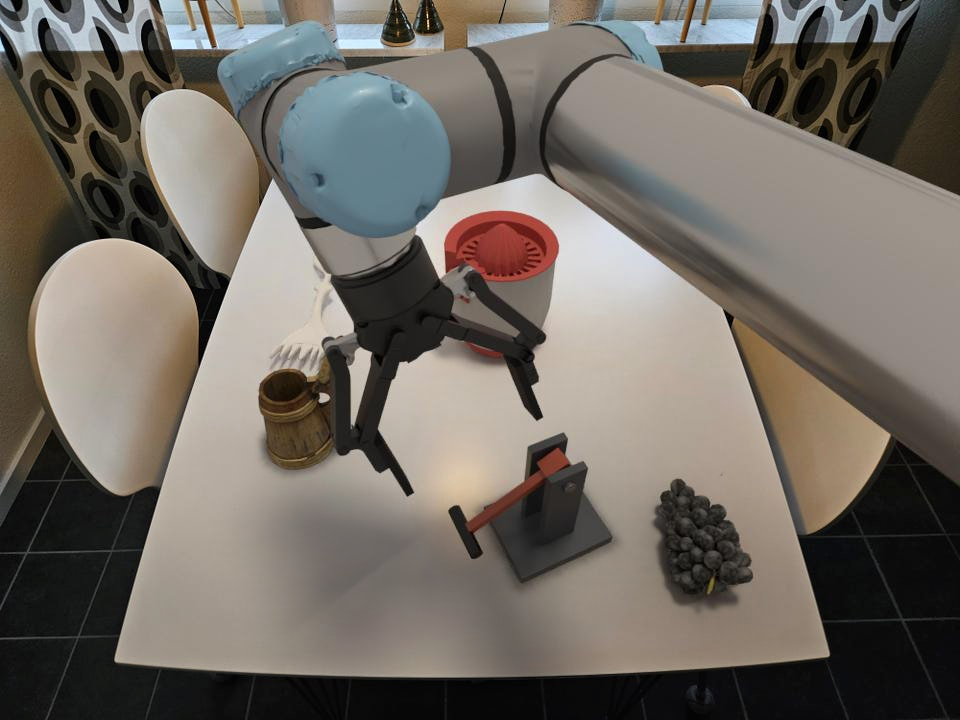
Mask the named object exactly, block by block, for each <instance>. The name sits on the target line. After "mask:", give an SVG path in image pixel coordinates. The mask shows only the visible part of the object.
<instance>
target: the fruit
mask: <svg viewBox="0 0 960 720" xmlns="http://www.w3.org/2000/svg"><path fill="white" fill-rule="evenodd" d="M669 488H670V489H668V490H667V489H666V490H664V491H662V492H661V494H660V496H659V499H660V504H659V512H660V513H661V514H662V515H663V516H664V518H665V521H666V522H667V523H666V526H665V531H666V533H667V534H668V535H669V536H667V537H666V538H665V540H664V545H665V547H666V548H667V549H668V550H669V551H668V554H667V560H668V562H669V563H670V564H671V565H672V566H671V567H670V568H669V571H668V574H669V577H670V579H671V581H674V582H675V583H678V584H679V583H680V589H681V591H682V594H684V595H685V596H687V597H694V596H700V595H703V593H704V592H705V589H706V587H707V586H708V588H707V592H706V594H707V595H710V593H711V592H713V593H715V594H721V593H725V592H726V591H727V588H728V586H736V585H743V584H748V583H751V582H752V580H753V579H754V573H753V571H752V569H751V568H750V567H751V565H752V562H753V559H752V558H751V555H749V554H748V553H747V552H745V551H744V550H743V549H742V546H741V543H740V542H741V541H740V534H739V532H738V531H737V529H736V526H735V524H734V522H732V521H731V520H730V519H726V518H727V513H728V512H727V509H726V508H725V506H723V505H722V504H720V503H715V504H712V505H711V501H710V499H709V497H708V496H705V495H699V494H697V495H696V491H695V489H694V488H693V487H692V486H690V485H688V484H687V483H686V482H685V481H684V480H683V479H682V478H675V479H672V480H671V482H670V486H669ZM717 573H718V574H717Z"/></svg>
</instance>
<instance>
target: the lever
mask: <svg viewBox="0 0 960 720" xmlns="http://www.w3.org/2000/svg"><path fill="white" fill-rule="evenodd" d="M537 464H538V466H539V468H540V469H541V470H539V471H538V472H536V473H535V474H534V475H532V476H531V477H529V478H528V479H527V480H525V481H524V480H523V482H521V483H520V484H518V485H517V486H516V487H514V488H513V489H511V490H510V491H508V492H507V493H506V494H504V495H503V496H501V497H500V498H499V499H497V500H496V501H494V502H495V503H494V502H492V503H493V504H492V505H490V506H489V507H488V508H486V509H485V510H484V509H483V510H482V511H480V512H479V513H478V514H476V515H475V516H473V517H472V518H471V519H469V520H468V519H467V517H466V515H465V513H464V511H463V509H462V507H461V506H460V504H455V505H452V506H450V507H449V508H448V510H447V513H448V515H449V517H450V519H451V521H452V524H453V525H454V527H455V529H456V531H457V533H458V535H459V537H460V540H461V542H462V544H463V546H464V548H465V550H466V551H467V553H468V556H469V558H470V559H471V560H476V559H479V558H480V557H481V556H483V554H484V550H483V548H482V547H481V545H480V542H479V541H478V538H477V537H476V535H475V534H476V533H477V532H479V530H481V529H482V528H483V527H485V526H486V525H488V524H490V523H489V522H490V521H492V520H493V519H495V518H496V517H497V516H499V515H500V514H502V513H503V512H504V511H506V510H507V509H509V508H510V507H511V506H513V505H514V504H516V503H517V502H518V501H520V500H521V499H523V498H524V497H525V496H527V495H528V494H530V493H531V492H532V491H534V490H535V489H537V488H538V487H539V486H541V485H542V484H544V483H545V482H546V476H548V475H550V474H553V473H555V472H558V471H560V470H562V469H565V468H567V467H570V466H572V465H573V464H572V463H571V461H570V460H569V458H568V456H567V455H566V454H564V453H563V452H562V451H561V450H560V449H559V448H556V449H555V450H554V451H552V452H551V453H549V454H548V455H547V456H545V457H544V458H542V459H541V460H540V461H538V462H537Z"/></svg>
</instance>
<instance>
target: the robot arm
mask: <svg viewBox="0 0 960 720" xmlns="http://www.w3.org/2000/svg"><path fill="white" fill-rule="evenodd" d="M658 51H659V50H658V49H657V47H656V46H655V45H654V44H652V43H650V41H648V39H647V35H646V32H645V30H644V29H642V28H641V27H640V26H639V25H637V24H636V23H633V22H631V21H627V20H625V19H624V20H623V19H611V20H610V19H609V20H601V21H585V20H583V21H581V20H579V21H578V20H577V21H574V22H571V23H569V24H565V25H564V24H563V25H561V26H560V27H556V28H551V29H547V30H543V31H537V32H532V33H528V34H524V35H519V36H514V37H509V38H504V39H500V40H496V41H495V40H494V41H491V42H486V43H482V44H476V45H472V46H467V47H462V48H461V47H460V48H457V49H451V50H446V51H445V50H444V51H441V52H435V53H429V54H425V55H420V56H415V57H410V58H409V57H408V58H404V59H400V60H394V61H389V62H384V63H381V64H380V63H379V64H374V65H369V66H365V67H360V68H354V69H347V68H346V66H347V62H346V59H345V57H344V56H343V55H341V53H340V52H339V50H338V48H337V46H336V45H335V43H334V41H333V39H332V37H331V35H330V34H329V31H328V30H327V28H326V27H325V26H324V25H323V24H322V23H320V22H319V21H317V20H311V19H309V20H304V21H300V22H297V23H295V24H292V25H289V26H287V27H284V28H281V29H279V30H277V31H275V32H272V33H270V34H268V35H265V36H263V37H261V38H259V39H257V40H255V41H253V42H250V43H248V44H246V45H244V46H242V47H240V48H238V49H236V50H235V51H233V52H231V53H229V54H228V55H226V56H225V57H223V58H222V59H221V61H220V62H219V64H218V66H217V71H216V72H217V78H218V81H219V83H220V85H221V87H222V89H223V91H224V93H225V95H226V97H227V99H228V101H229V103H230V106H231V107H232V111H233V113H234V114H233V116H234V117H235V119H236V120H237V122H238V123H239V124H240V125H242V127H243V129H244V131H245V133H246V134H247V136H248V138H249V139H250V141H251V143H252V144H253V147H254V148H255V150H256V152H257V154H258V156H259V157H260V159H261V161H262V163H263V164H264V166H265V167H266V170H267V171H268V173H269V174H270V176H271V178H272V179H273V182H274V183H275V185H276V186H277V188H278V190H279V192H280V193H281V195H282V196H283V199H284V200H285V202H286V204H287V205H288V206H289V208H290V210H291V211H292V213H293V215H294V218H295V220H296V223H297V224H298V226H299V229H300V231H301V232H302V234H303V236H304V237H305V240H306V241H307V243H308V245H309V246H310V248H311V250H312V251H313V252H312V253H313V255H314V254H315V255H316V257H317V259H318V261H319V262H320V264H321V266H322V268H323V270H324V271H325V272H326V273H328V274H331V279H330V284H331V285H333V287H334V288H333V290H334V291H335V292H336V294H337V296H338V298H339V299H340V301H341V303H342V305H343V307H344V309H345V310H346V312H347V314H348V316H349V317H350V319H351V321H352V324H353V331H352V332H350V333H348V334H346V335H342V336H343V337H341V338H338V339H336V337H334V336H331V335H330V336H331V337H330V336H329V337H325V338H324V339H323V340H322V343H321V345H322V348H323V350H324V356H325V355H326V357H327V360H328V362H329V364H330V397H329V399H330V416H331V438H332V441H333V444H334V449H335V452H336V454H337V455H338V456H339V457H345V456H347V455H349V454H350V452H352V451H355V450H358V451H362V453H363V454H364V456H365V457H366V458H367V460H368V461H369V463H370V464H371V466H372V468H373V469H374V471H375V472H376V473H378V474H381V473H384V472H386V471H387V470H388V469H389V471H390V473H392V475H393V477H394V478H395V480H396V482H397V484H398V485H399V486H400V488H401V489H402V491H403V493H404V495H405V496H406V497H407V498H408V497H410V496H412V495H414V494H415V490H414V488H413V486H412V485H411V482H410V481H409V479H408V476H407V474H406V473H405V471H404V469H403V468H402V466H401V464H400V463H399V461H398V459H397V458H396V456H395V455H394V453H393V451H392V449H391V448H390V447H389V445H388V443H387V441H386V439H385V438H384V437H383V435H382V433H381V431H380V430H379V427H380V424H381V421H382V416H383V412H384V409H385V405H386V402H387V398H388V395H389V392H390V388H391V385H392V381H393V380H395V379H396V376H397V373H398V369H399V366H400V363H407V364H408V365H409V364H411V363H412V362H415V361H416V360H417V359H418V358H419V357H421V356H422V355H423V354H425V353H427V352H430V351H434V350H437V349H438V348H439V347H441V346H442V342H443V341H444V339H445V338H446V337H447V338H449V339H453V340H456V341H459V342H465V341H467V342H470V343H473V344H475V345H478V346H481V347H484V348H487V349H490V350H493V351H496V352H499V353H502V354H503V357H502V358H503V360H504V362H505V364H506V367H507V370H508V371H509V374H510V376H511V380H512V381H513V383H514V386H515V389H516V391H517V393H518V396H519V398H520V400H521V403H522V405H523V407H524V409H525V410H526V411H527V412H528V413H529V415H531V417H532V418H533V419H534V420H535V421H536V422H538V421H539V420H542V419H543V418H544V415H543V412H542V409H541V407H540V404H539V402H538V400H537V397H536V395H535V391H534V389H533V386H535V385H536V384H537V383H539V382H540V381H539V380H540V376H539V373H538V370H537V368H536V365H535V363H534V361H535V358H536V355H535V353H534V352H533V350H534V348H536V346H538V345H539V346H541V345H543V344H544V343H545V342H546V340H547V334H546V333H545V332H544V331H543V330H542V328H541V329H539V328H538V327H537V326H536V325H535V324H534V323H533V322H531V321H530V320H529V319H527V318H526V317H525V316H524V315H522V314H521V313H520V312H518V311H517V310H516V309H515V308H513V307H512V306H511V305H509V304H508V303H507V302H505V301H504V300H503V299H502V298H500V297H499V296H498V295H496V294H495V293H494V292H493V291H491V290H490V289H489V287H488V285H487V284H486V282H485V280H484V278H483V276H482V275H481V274H480V273H479V272H478V271H477V270H476V269H474V268H473V267H472V266H471V265H470V264H468V263H463V264H461V265H460V266H459V269H458V273H459V274H457V275H456V276H454V277H453V278H451V279H450V280H448V281H447V282H445V283H443V282H442V281H441V280H440V278H441V277H439V275H438V271H437V270H436V267H435V265H434V263H433V260H432V259H431V257H430V254H429V252H428V249H427V248H426V245H425V243H424V241H423V239H422V237H421V236H420V235H418V234H416V232H417V226H418V225H419V223H421V222H422V221H423V220H425V219H426V218H427V217H428V215H429V214H431V212H433V211H434V210H435V208H437V206H438V204H440V202H441V200H444V199H448V198H451V197H456V196H458V195H459V196H460V195H463V194H466V193H469V192H474V191H477V190H482V189H484V188H488V187H492V186H495V185H498V184H502V183H506V182H510V181H515V180H517V179H521V178H525V177H529V176H533V175H542V176H544V177H545V178H546V179H548V180H549V182H551V183H552V184H554V185H555V186H557V187H558V188H560V189H561V190H563V191H565V192H566V193H568V194H570V195H571V196H572V197H574V198H575V199H576V200H578V201H579V202H580V203H582V204H583V205H584V206H585V207H587V208H588V209H590V210H591V211H592V212H594V213H595V214H596V215H598V216H599V217H600V218H601V219H603V220H604V221H606V222H607V223H608V224H610V225H611V226H612V227H613V228H615V229H616V230H618V232H620V233H621V234H623V235H624V236H626V237H627V238H628V239H630V240H631V242H633V243H635V244H636V245H637V246H639V247H640V248H641V249H643V250H644V251H645V252H647V253H648V254H649V255H651V256H652V257H653V258H654V259H656V260H658V261H659V262H660V263H661V264H663V265H664V266H665V267H666V268H668V269H669V270H671V271H672V272H673V273H675V274H676V275H677V276H679V277H680V278H682V279H683V280H684V281H685V282H687V283H688V284H689V285H691V286H692V287H693V288H694V289H696V290H698V292H700V293H702V294H703V295H704V296H705V297H707V298H708V299H709V300H711V301H713V303H715V304H716V305H717V306H719V307H720V308H721V309H722V310H724V311H725V312H727V313H728V314H729V315H731V316H732V317H733V318H735V320H737V321H738V322H740V323H741V324H743V325H744V326H745V327H747V328H748V329H749V330H751V331H752V332H753V333H755V334H756V335H757V336H758V337H760V338H761V339H762V340H764V341H765V342H767V343H768V344H769V345H770V346H772V347H773V348H775V350H777V351H778V352H780V353H781V354H783V356H785V357H787V358H788V359H789V360H790V361H792V362H793V363H794V364H796V365H797V366H798V367H800V368H801V369H803V371H805V372H806V373H808V374H809V375H811V376H812V377H813V378H815V380H817V381H819V382H820V383H821V384H822V385H824V386H825V387H826V388H828V389H829V390H831V392H833V393H835V394H836V395H838V397H839V398H840V399H842V400H844V401H845V402H846V403H848V404H849V405H850V406H852V407H853V408H854V409H856V410H857V411H858V412H860V413H861V414H862V415H864V416H865V417H866V418H868V419H869V420H871V422H873V423H874V424H875V425H877V426H878V427H880V428H881V429H883V430H884V431H885V432H886V433H888V434H889V435H890V436H892V437H893V438H895V439H896V440H897V441H898V442H900V443H901V444H902V445H903V446H905V447H906V448H908V449H909V450H910V451H911V452H913V453H914V454H916V455H918V457H920V458H921V459H923V460H924V461H925V462H926V463H927V464H929V465H930V466H932V467H933V468H934V469H935V470H937V471H938V472H940V473H941V474H942V475H944V476H945V477H946V478H947V479H949V480H950V481H951V482H952V483H954V484H955V485H957V486H958V487H960V195H958V194H957V193H954V192H951V191H949V190H947V189H945V188H942V187H939V186H938V185H935V184H932V183H931V182H927V181H925V180H923V179H921V178H918V177H917V176H914V175H911V174H908V173H907V172H904V171H901V170H899V169H897V168H894V167H892V166H889V165H888V164H885V163H883V162H880V161H877V160H876V159H874V158H870V157H868V156H866V155H864V154H861V153H858V152H857V151H854V150H851V149H849V148H847V147H844V146H842V145H840V144H837V143H835V142H832V141H830V140H828V139H825V138H823V137H820V136H818V135H816V134H814V133H811V132H808V131H807V130H804V129H801V128H800V127H797V126H794V125H792V124H790V123H787V122H786V121H783V120H781V119H778V118H775V117H773V116H771V115H768V114H766V113H763V112H761V111H759V110H756V109H754V108H752V107H749V106H747V105H745V104H742V103H740V102H737V101H735V100H733V99H730V98H728V97H725V96H723V95H721V94H718V93H716V92H714V91H711V90H708V89H706V88H704V87H701V86H700V85H697V84H695V83H692V82H690V81H688V80H686V79H684V78H681V77H678V76H675V75H673V74H671V73H668V72H666V71H664V66H663V62H662V59H661V56H660V54H659V52H658ZM458 294H460V295H463V296H464V297H465V298H467V299H470V298H475V297H476V298H477V299H478V300H479V301H480V302H481V303H482V304H484V305H485V306H486V307H487V308H489V309H490V310H491V311H493V312H494V313H495V314H497V315H498V316H499V317H501V318H502V319H503V320H505V321H506V322H507V323H509V324H510V325H511V326H513V327H514V328H515V329H517V330H518V331H519V332H520V333H519V334H518V335H517V336H516V337H515V336H512V335H509V334H507V333H504V332H501V331H498V330H495V329H493V328H490V327H487V326H484V325H482V324H479V323H476V322H473V321H471V320H468V319H465V318H462V317H460V316H458V315H456V314H455V313H452V308H453V303H454V296H455V295H458ZM359 348H361V349H362V350H364V351H367V352H369V353H371V355H370V360H369V361H370V366H369V370H368V374H367V376H366V381H365V383H364V388H363V391H362V396H361V399H360V402H359V406H358V409H357V414H356V417H355V421H354V424H352V385H351V384H352V378H351V372H350V368H349V367H350V366H352V365H353V364H354V362H355V359H356V355H355V354H356V351H358V349H359Z"/></svg>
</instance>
